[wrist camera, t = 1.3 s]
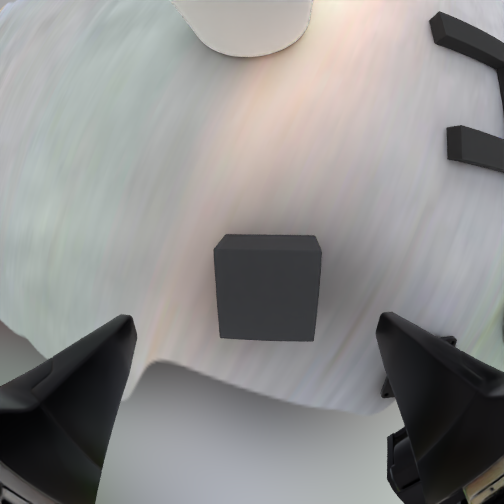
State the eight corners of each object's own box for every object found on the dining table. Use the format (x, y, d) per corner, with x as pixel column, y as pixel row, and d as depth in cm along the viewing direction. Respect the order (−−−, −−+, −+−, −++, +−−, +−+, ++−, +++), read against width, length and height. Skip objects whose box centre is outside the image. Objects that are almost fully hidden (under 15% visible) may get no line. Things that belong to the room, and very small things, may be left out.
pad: (309, 314, 20) (313, 342, 17) (229, 312, 21) (219, 338, 17) (315, 235, 18) (322, 250, 15) (225, 234, 19) (213, 248, 15)
